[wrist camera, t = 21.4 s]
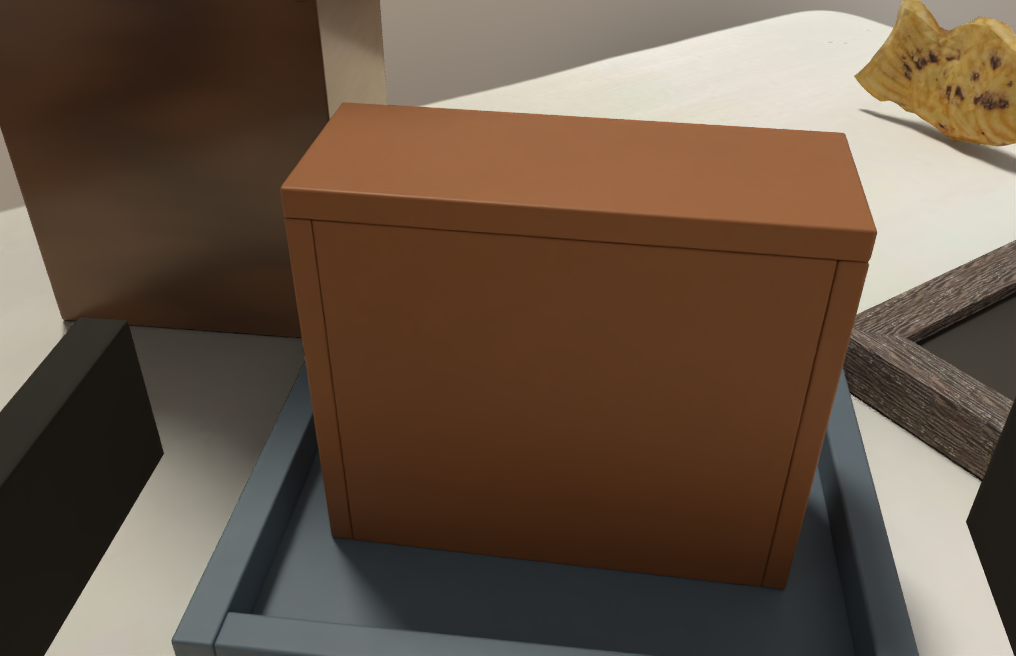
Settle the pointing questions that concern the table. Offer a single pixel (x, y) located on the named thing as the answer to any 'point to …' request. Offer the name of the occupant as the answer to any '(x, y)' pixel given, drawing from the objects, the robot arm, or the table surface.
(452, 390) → the orange brown block
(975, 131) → the pastry
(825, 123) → the table surface
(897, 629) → the tray
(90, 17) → the wooden block with slab
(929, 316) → the picture frame
